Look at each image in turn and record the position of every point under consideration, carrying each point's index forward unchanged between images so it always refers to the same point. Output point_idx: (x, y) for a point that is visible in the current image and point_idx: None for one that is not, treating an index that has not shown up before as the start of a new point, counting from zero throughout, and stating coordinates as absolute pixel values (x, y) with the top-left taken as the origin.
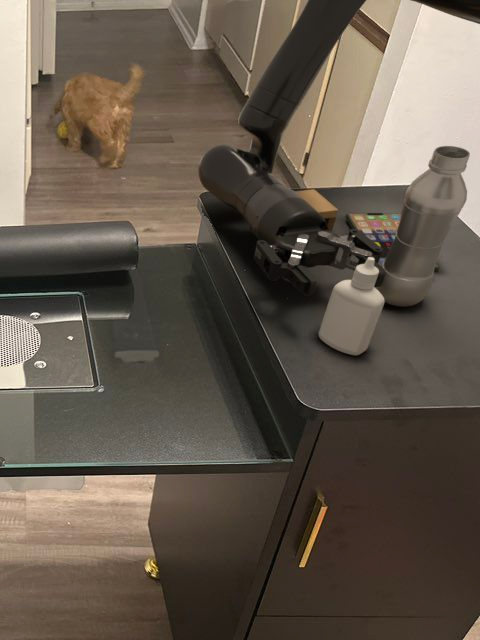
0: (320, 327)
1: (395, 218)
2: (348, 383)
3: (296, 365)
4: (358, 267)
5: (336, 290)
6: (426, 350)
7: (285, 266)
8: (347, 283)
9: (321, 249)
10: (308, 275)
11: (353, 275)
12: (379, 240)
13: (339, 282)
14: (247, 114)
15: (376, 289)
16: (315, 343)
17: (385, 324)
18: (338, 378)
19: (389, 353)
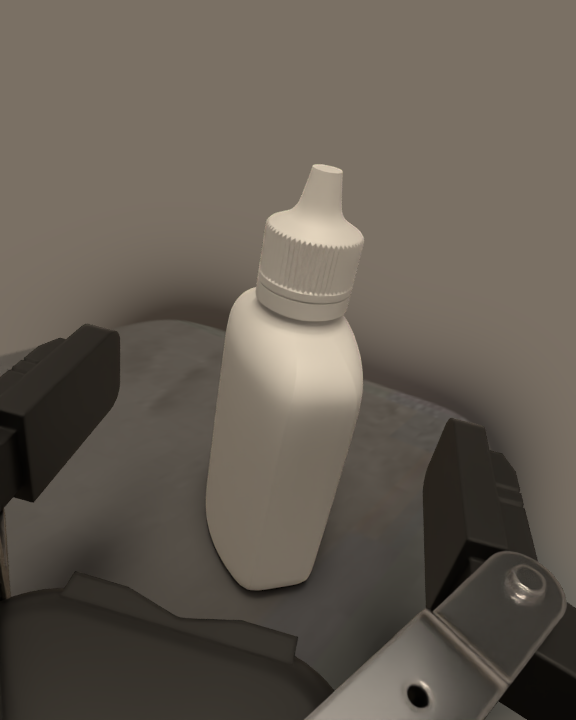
0: (314, 557)
1: None
2: (357, 425)
3: None
4: (348, 237)
5: (362, 387)
6: None
7: (570, 623)
8: (334, 342)
9: (162, 637)
10: (476, 453)
11: (345, 285)
12: None
13: (331, 386)
14: None
15: (252, 293)
16: (335, 565)
17: (12, 524)
18: (370, 443)
19: (164, 439)
